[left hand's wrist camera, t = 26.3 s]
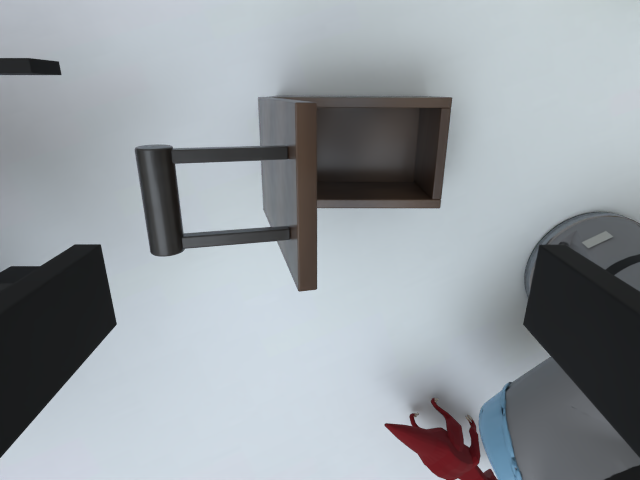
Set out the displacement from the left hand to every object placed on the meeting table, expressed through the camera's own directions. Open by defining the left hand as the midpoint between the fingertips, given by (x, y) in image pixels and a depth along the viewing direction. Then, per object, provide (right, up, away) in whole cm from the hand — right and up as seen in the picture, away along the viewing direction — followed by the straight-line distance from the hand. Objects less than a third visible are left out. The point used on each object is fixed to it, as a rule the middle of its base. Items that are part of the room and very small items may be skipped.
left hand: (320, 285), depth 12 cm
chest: (+3, +12, +33) cm, 35 cm away
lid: (-2, +6, +16) cm, 18 cm away
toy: (+16, -24, +46) cm, 55 cm away
